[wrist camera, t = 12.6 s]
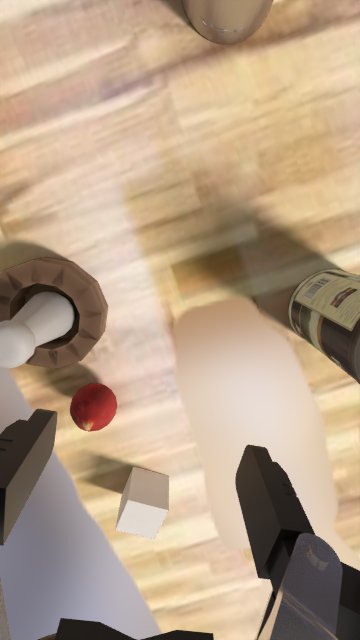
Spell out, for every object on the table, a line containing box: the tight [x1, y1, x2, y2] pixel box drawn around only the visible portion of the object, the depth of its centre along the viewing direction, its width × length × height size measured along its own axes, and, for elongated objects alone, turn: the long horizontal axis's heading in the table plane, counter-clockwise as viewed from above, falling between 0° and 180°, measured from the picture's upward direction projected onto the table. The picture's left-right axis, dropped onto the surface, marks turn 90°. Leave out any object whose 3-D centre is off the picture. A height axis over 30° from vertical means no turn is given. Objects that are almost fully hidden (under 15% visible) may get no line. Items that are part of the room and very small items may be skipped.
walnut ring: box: [0, 257, 108, 369], centre depth 35 cm, size 13×13×4 cm
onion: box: [70, 383, 117, 432], centre depth 37 cm, size 6×6×8 cm
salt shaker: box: [0, 292, 75, 369], centre depth 31 cm, size 6×6×13 cm
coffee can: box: [288, 269, 360, 384], centre depth 31 cm, size 10×10×14 cm
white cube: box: [115, 466, 169, 539], centre depth 43 cm, size 6×6×6 cm
